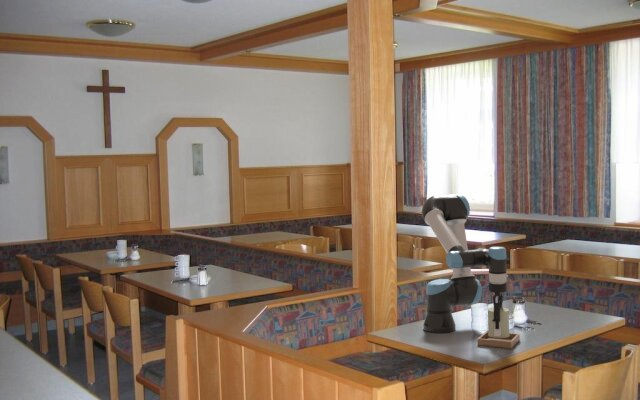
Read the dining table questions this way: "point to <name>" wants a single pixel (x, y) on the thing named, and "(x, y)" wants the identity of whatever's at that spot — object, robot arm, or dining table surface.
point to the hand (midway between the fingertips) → (498, 333)
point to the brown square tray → (498, 341)
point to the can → (504, 323)
